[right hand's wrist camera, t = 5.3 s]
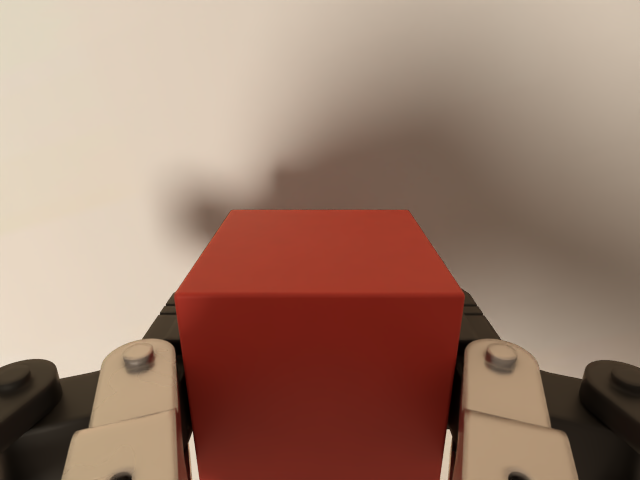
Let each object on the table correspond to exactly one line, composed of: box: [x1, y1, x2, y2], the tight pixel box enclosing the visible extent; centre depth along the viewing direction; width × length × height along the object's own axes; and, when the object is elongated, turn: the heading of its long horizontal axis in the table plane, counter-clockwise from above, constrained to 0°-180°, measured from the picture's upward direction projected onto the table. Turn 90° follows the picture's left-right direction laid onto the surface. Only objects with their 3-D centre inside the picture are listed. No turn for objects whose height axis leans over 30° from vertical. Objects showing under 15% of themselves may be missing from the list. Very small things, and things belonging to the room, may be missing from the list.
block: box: [174, 210, 465, 480], centre depth 10 cm, size 5×5×5 cm
